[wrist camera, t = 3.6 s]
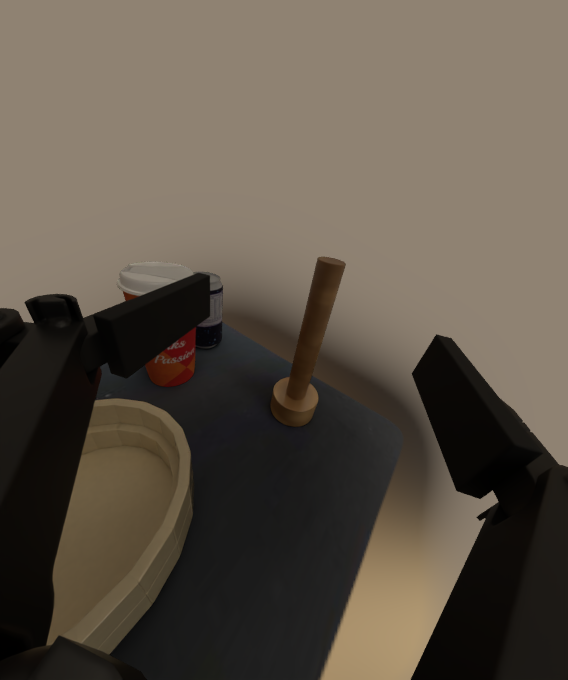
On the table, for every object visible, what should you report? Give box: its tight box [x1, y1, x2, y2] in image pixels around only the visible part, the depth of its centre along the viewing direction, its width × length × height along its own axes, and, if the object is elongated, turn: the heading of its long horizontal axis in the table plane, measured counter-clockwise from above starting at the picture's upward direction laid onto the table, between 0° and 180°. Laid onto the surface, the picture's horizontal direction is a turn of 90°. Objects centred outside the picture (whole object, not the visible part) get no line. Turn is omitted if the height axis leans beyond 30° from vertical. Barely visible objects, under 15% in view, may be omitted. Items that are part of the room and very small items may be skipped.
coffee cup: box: [117, 262, 196, 387], centre depth 29 cm, size 8×8×15 cm
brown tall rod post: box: [270, 257, 346, 427], centre depth 26 cm, size 6×6×20 cm
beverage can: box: [193, 272, 223, 348], centre depth 37 cm, size 6×6×12 cm
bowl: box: [46, 398, 194, 655], centre depth 16 cm, size 16×16×6 cm
